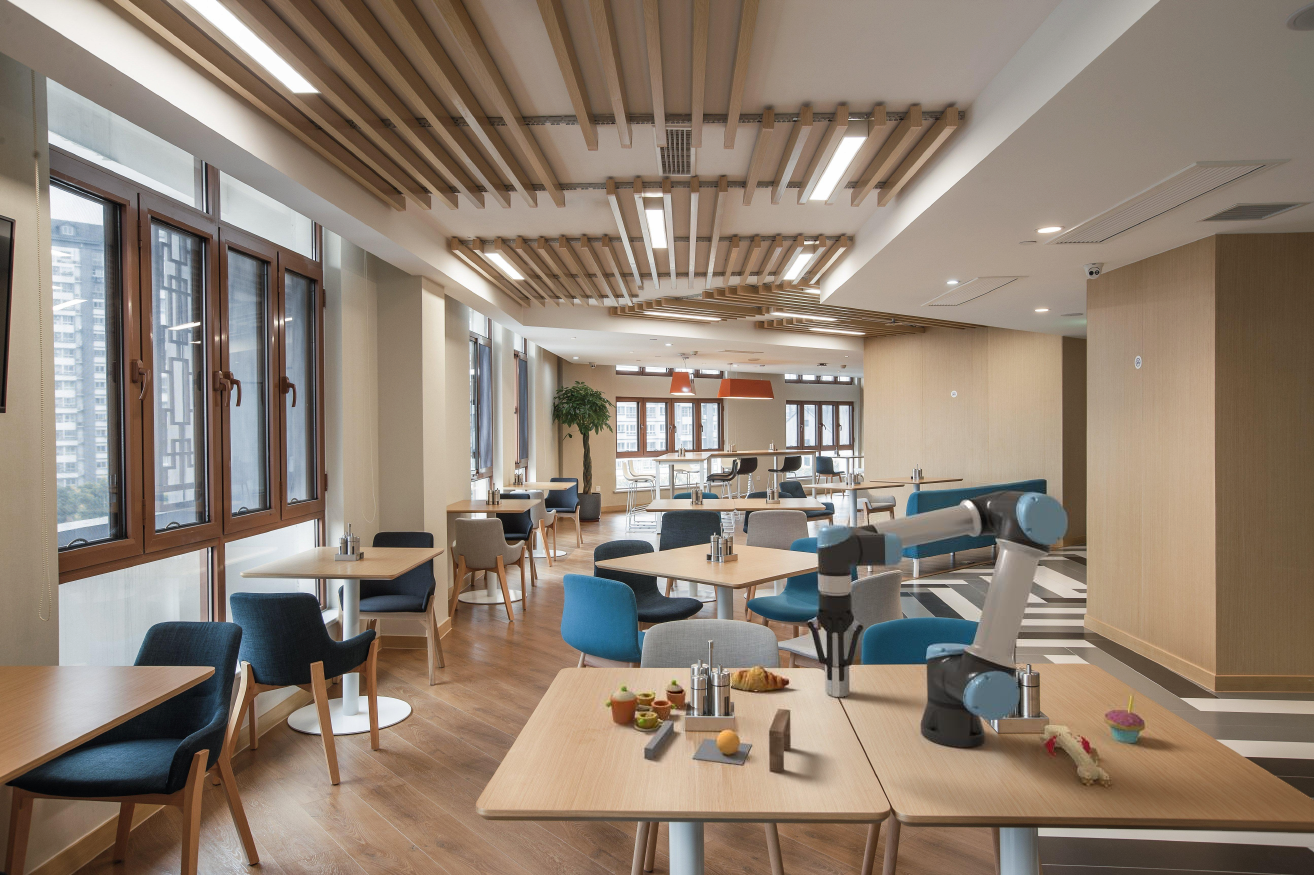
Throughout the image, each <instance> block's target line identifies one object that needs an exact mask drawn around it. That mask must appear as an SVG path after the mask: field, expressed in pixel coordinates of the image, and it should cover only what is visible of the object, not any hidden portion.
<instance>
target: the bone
mask: <svg viewBox="0 0 1314 875" xmlns="http://www.w3.org/2000/svg"><path fill="white" fill-rule="evenodd" d="M1043 731H1044V734H1041V735H1038V740H1039V741H1041V742H1044V747H1045V750H1047V752H1048V754H1051V756H1053V757H1058V756H1057V755H1056V752H1055V751H1054V748H1062V749H1063V750H1064V751H1065V752H1066V753H1067V754H1069V756H1070V757H1071V758H1072V759H1073V761H1074V764H1076V766H1077V770H1076V772H1077V775H1078V776H1079V777H1080V782H1081V784H1084V785H1085V786H1091V785H1094V780H1095V781H1096V780H1097V779H1098V783H1099V784H1100V785H1102V786H1103V787H1108V788H1109V786H1112V784H1113V783H1112V780H1111V779H1110V778H1109V777H1110V776H1109V774H1108V773H1106V772H1105V771H1104V769H1102V767H1099V766H1098V765H1099V764H1100V757H1099V753H1098V750H1097V748H1096V747H1091V746H1090V741H1089V740H1087V739H1086V737H1083V736H1081V735H1080V734H1077V736H1074V737H1073V732H1072V731H1071V730H1070V729H1069V728H1068V727H1067V726H1065V725H1058V724H1057V725H1055V724H1053V725H1052V724H1047V725H1046V726H1044V728H1043ZM1080 743H1081V744H1080ZM1081 745H1082V746H1081Z"/></svg>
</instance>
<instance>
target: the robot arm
mask: <svg viewBox="0 0 1314 875" xmlns="http://www.w3.org/2000/svg"><path fill="white" fill-rule="evenodd" d="M1068 521H1069V520H1068V514H1067V512H1066V510H1065V509H1064V508H1063V505H1062V504H1061V502H1060V501H1058V499H1056V498H1055V497H1054V496H1052V495H1048V494H1045V493H1041V492H1036V491H1015V490H1000V491H995V492H992V493H989V494H984V495H980V496H977V497H971V498H968V499H963V500H962V501H961V502H960V503H959V505H955V506H949V507H946V508H940V509H936V510H932V511H925V512H921V513H917V514H913V515H908V516H903V517H898V518H894V519H889V520H884V521H880V522H876V523H871V524H866V525H865V524H864V525H862V526H861V525H860V526H856V527H855V526H849V525H848V526H847V525H843V524H841V525H840V524H826V525H822V526H820V527H819V528H818V532H817V542H816V543H817V544H816V547H817V569H818V570H817V582H818V583H817V589H818V591H819V592H818V594H817V596H818V597H817V600H818V603H817V604H818V611H817V613H816V616H815V617H814V618H811V619H809V620H808V621H807V624H806V625H807V627H808V629H809V630H810V632H811V635H812V640H813V643H814V647H815V651H816V656H817V659H818V661H819V664H822V665H824V666H825V665H826V666H827V678H828V680H832V696H831V697H833V696H836V697H835V698H840V697H839V694H840V681H844V678H845V677H844V668H845V667H846V666H849V667H850V666H852V664H853V661H854V656H855V652H856V647H857V644H858V640H859V636H860V634H861V633H862V631H863V630H864V623H863V622H859V621H858V620H857V619H855V616H854V614H853V606H852V605H853V604H852V603H853V602H852V596H853V595H852V594H851V593H850V592H852V567H881V566H882V567H888V566H897V565H899V564H900V562H902V559H903V556H904V548H909V547H915V546H919V545H922V544H923V545H924V544H928V543H933V542H937V541H942V540H946V539H950V538H951V539H952V538H957V537H960V536H964V535H965V536H966V535H968V536H971V537H974V538H975V537H980V536H989V535H990V536H995V542H996V543H997V545H998V547H999V551H998V555H997V559H996V561H995V562H996V563H995V565H994V568H993V574H992V575H991V579H990V583H989V587H988V590H987V593H986V597H985V600H984V604H983V608H982V610H981V616H980V618H979V623H978V625H977V628H976V633H975V636H974V640H973V643H972V644H971V645H969V644H965V643H950V642H949V643H944V642H943V643H933V644H931V645H929V646H928V647H927V649H926V656H925V661H926V689H927V690H926V691H927V693H926V696H927V698H926V699H927V702H926V705H925V708H924V712H923V715H922V717H921V721H920V734H921V736H923V737H924V738H925V739H927V740H929V741H931V742H933V743H935V744H938V745H943V746H947V747H955V748H973V747H978V746H981V745H983V744H984V743H985V742H986V736H985V733H986V732H985V728H984V725H983V723H982V720H981V718H983V719H985V720H989V721H997V720H1002V719H1003V718H1005V717H1007V716H1009V715H1011V714H1012V713H1013V712H1014V711H1015V709H1016V708H1017V706H1018V704H1019V703H1020V698H1021V690H1020V687H1019V686H1018V682H1017V681H1016V680H1015V675H1016V671H1017V667H1018V666H1017V665H1016V663H1015V662H1014V660H1013V655H1014V651H1015V648H1016V643H1017V641H1018V637H1019V633H1020V629H1021V626H1022V622H1023V618H1024V616H1025V612H1026V611H1025V610H1026V608H1027V605H1028V601H1029V597H1030V594H1031V592H1032V591H1031V590H1032V586H1033V582H1034V580H1035V576H1036V572H1037V568H1038V565H1039V562H1040V560H1041V559H1042V558H1045V557H1046V556H1049V553H1050V549H1051V546H1052V545H1053V544H1056V543H1057V542H1058V541H1060V540H1062V539H1063V537H1064V536H1065V535H1066V533H1067V529H1068V525H1069V524H1068ZM819 624H820V626H821V627H822V629H823V630H825V631H826V636H827V658H826V657H825V651H824V648H823V644H822V641H821V640H822V639H821V637H820V633H819V629H818V628H819V627H818V626H819ZM849 626H850V627H851V626H852V630H853V633H852V637H851V641H850V644H849V653H848V658H847V659H844V632H846V630H847V629H848V630H849ZM833 633H838V665H834V664H833Z"/></svg>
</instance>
